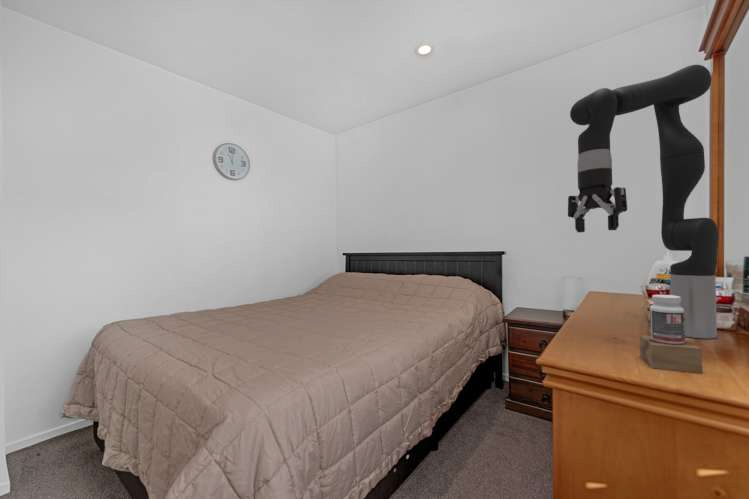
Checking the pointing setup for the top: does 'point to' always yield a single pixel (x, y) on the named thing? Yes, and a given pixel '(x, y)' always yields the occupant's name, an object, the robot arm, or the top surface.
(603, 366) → the top surface
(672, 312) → the pill bottle
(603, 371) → the top surface
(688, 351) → the walnut block
